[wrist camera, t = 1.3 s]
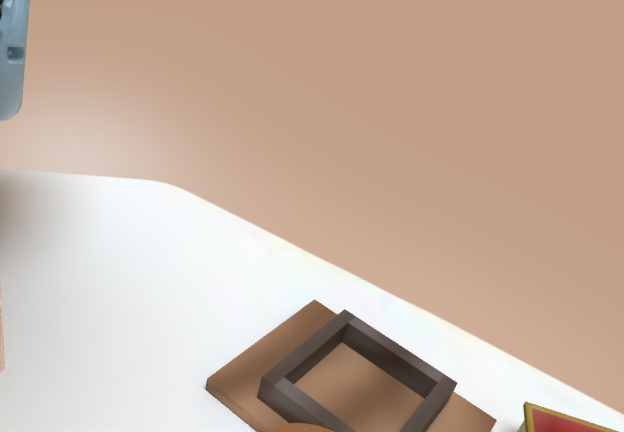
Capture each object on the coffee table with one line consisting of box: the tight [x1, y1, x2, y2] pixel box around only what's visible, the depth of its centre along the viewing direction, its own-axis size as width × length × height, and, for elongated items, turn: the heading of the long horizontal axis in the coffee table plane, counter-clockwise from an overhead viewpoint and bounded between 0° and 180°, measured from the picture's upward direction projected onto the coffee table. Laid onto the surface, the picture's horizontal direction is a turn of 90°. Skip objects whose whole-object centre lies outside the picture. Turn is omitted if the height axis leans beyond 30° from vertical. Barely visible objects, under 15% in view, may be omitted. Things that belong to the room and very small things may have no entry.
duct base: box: [206, 300, 497, 432], centre depth 40 cm, size 16×12×3 cm
